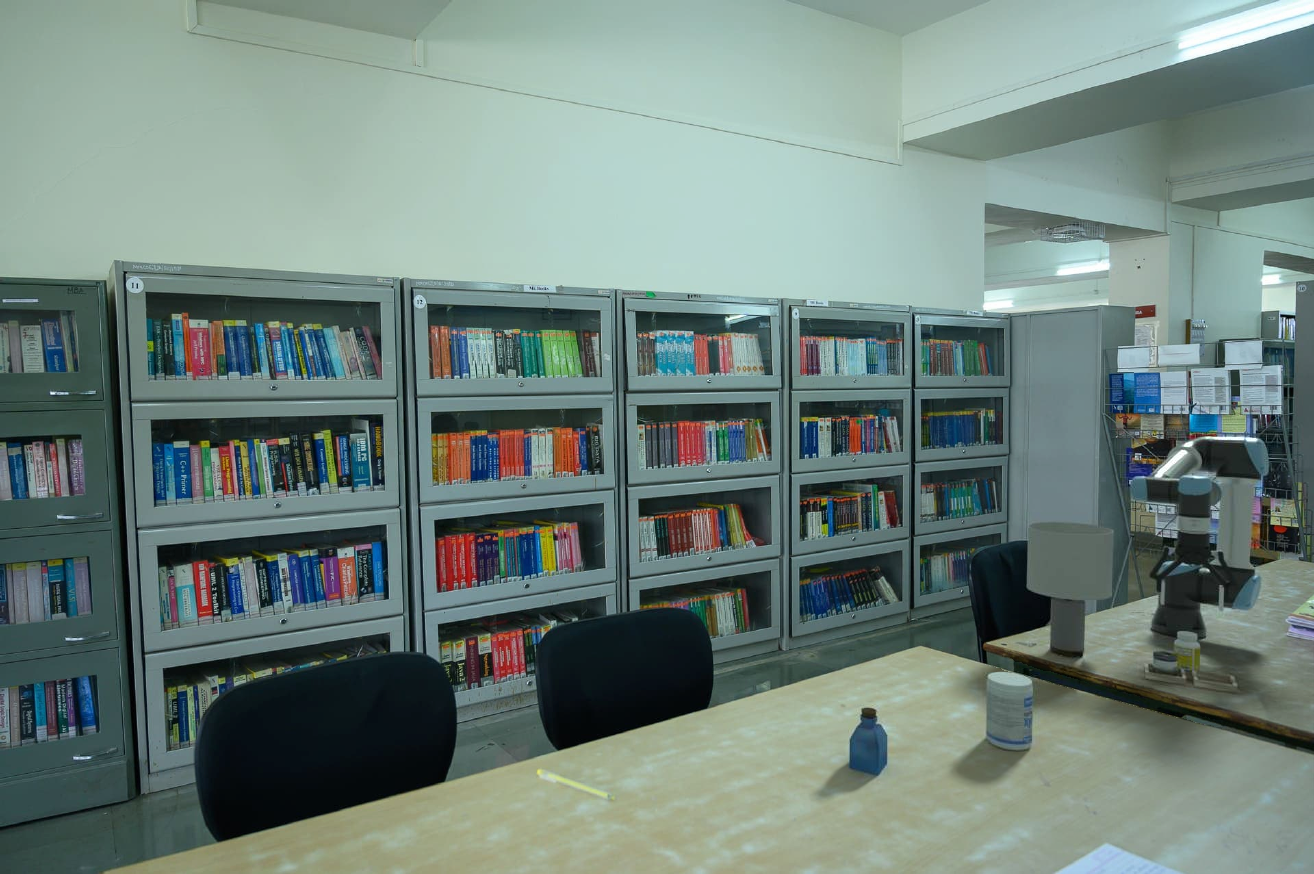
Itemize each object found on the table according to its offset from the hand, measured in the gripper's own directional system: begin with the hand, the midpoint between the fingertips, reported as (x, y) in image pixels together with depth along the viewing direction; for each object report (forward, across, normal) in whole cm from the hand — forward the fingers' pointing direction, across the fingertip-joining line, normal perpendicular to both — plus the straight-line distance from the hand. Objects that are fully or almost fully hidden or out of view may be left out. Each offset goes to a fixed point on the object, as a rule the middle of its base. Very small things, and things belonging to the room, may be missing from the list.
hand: (1191, 606), depth 220 cm
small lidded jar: (+17, -6, -11) cm, 22 cm away
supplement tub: (+19, -39, -73) cm, 85 cm away
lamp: (+19, -31, +2) cm, 36 cm away
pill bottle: (+19, -1, 0) cm, 19 cm away
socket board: (+19, -1, -11) cm, 22 cm away
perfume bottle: (+19, -63, -100) cm, 120 cm away
